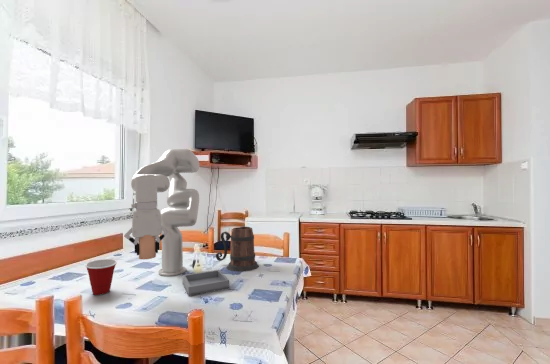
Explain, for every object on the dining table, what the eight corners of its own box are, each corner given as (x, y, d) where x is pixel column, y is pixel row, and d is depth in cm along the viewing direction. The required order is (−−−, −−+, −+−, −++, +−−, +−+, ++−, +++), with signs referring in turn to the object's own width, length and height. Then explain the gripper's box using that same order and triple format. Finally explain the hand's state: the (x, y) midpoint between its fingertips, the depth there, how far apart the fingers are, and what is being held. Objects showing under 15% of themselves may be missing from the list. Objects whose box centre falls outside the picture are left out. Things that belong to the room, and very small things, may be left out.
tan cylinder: (138, 256, 107) (138, 233, 107) (155, 254, 109) (155, 231, 109) (138, 260, 101) (138, 235, 101) (156, 258, 104) (156, 234, 104)
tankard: (263, 263, 147) (263, 226, 148) (252, 272, 131) (251, 231, 132) (223, 260, 154) (223, 224, 154) (208, 269, 138) (208, 229, 138)
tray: (182, 283, 118) (182, 275, 118) (219, 277, 125) (218, 269, 125) (188, 296, 104) (188, 287, 104) (229, 288, 111) (229, 280, 111)
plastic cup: (93, 300, 102) (93, 267, 102) (79, 294, 107) (79, 263, 108) (122, 290, 111) (122, 260, 111) (108, 285, 117) (108, 257, 117)
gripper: (120, 208, 98) (121, 258, 98) (171, 206, 106) (172, 252, 106) (121, 207, 105) (122, 254, 105) (169, 204, 113) (170, 248, 113)
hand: (147, 252), depth 105 cm, fingers closed on tan cylinder, 6 cm apart
